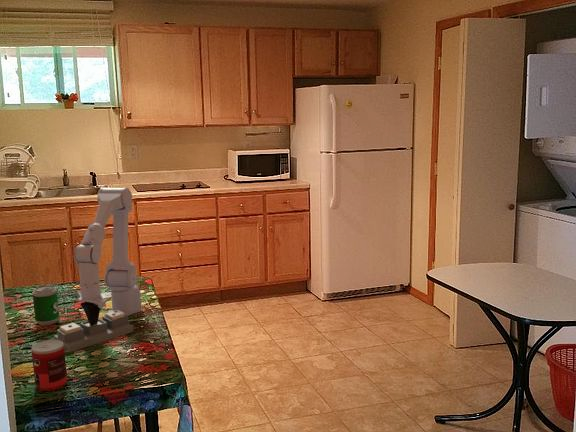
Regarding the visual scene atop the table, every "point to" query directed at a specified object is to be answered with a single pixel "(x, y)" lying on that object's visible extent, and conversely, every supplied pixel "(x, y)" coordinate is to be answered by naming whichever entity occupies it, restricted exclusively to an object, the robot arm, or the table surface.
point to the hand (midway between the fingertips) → (93, 323)
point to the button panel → (94, 333)
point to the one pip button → (70, 328)
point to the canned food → (49, 365)
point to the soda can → (45, 305)
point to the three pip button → (93, 325)
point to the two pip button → (114, 315)
